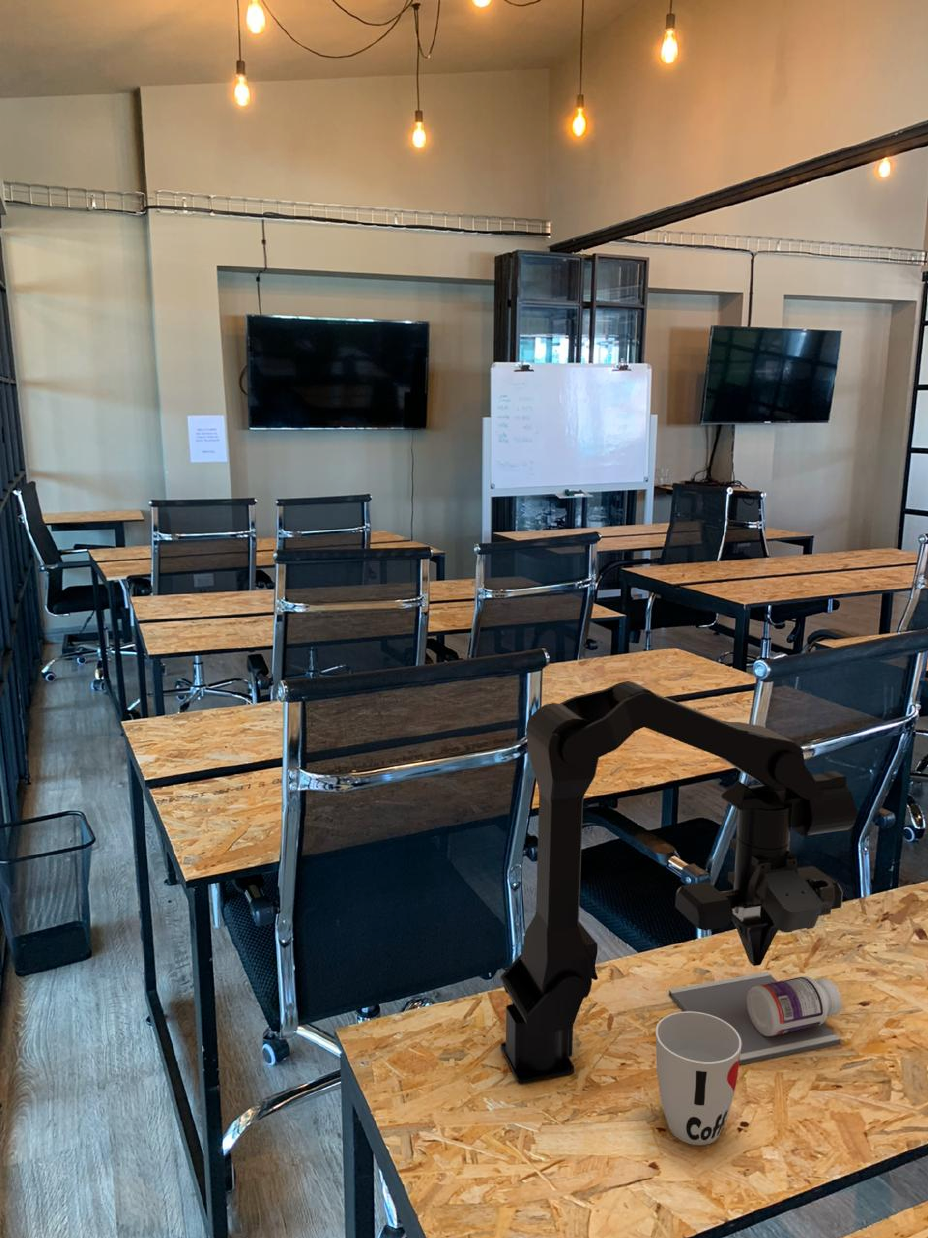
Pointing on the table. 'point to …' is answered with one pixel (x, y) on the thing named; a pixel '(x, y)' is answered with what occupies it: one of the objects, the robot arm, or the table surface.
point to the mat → (731, 1007)
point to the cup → (696, 1073)
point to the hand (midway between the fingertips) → (754, 964)
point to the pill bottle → (792, 1004)
